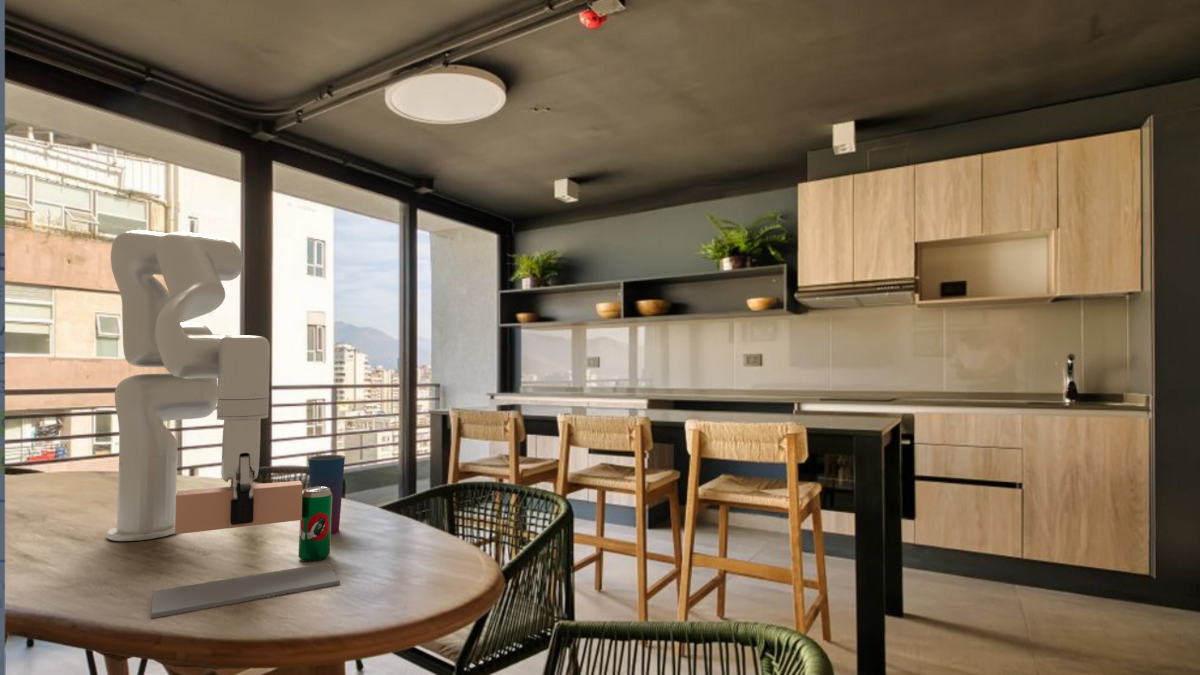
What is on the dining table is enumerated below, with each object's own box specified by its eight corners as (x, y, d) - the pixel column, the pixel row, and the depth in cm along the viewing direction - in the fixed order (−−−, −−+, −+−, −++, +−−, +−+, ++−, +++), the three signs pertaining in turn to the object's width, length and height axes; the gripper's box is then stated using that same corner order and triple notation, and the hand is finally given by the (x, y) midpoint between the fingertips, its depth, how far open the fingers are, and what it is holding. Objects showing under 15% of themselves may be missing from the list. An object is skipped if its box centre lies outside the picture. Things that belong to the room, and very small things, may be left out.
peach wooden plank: (176, 528, 103) (177, 490, 103) (299, 515, 112) (300, 480, 112) (175, 534, 100) (175, 495, 100) (301, 520, 109) (302, 484, 109)
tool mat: (153, 595, 94) (153, 591, 94) (326, 566, 108) (327, 563, 108) (151, 618, 86) (151, 613, 86) (339, 584, 99) (339, 580, 99)
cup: (333, 525, 134) (334, 453, 134) (350, 531, 129) (351, 457, 130) (300, 532, 128) (302, 457, 129) (317, 538, 124) (318, 461, 125)
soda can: (336, 555, 114) (338, 487, 114) (316, 563, 109) (319, 492, 109) (312, 552, 115) (314, 485, 116) (291, 560, 110) (294, 490, 111)
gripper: (214, 407, 112) (212, 512, 111) (219, 414, 98) (216, 535, 97) (263, 405, 116) (260, 507, 115) (274, 412, 102) (272, 528, 101)
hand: (240, 519), depth 106 cm, fingers closed on peach wooden plank, 4 cm apart
